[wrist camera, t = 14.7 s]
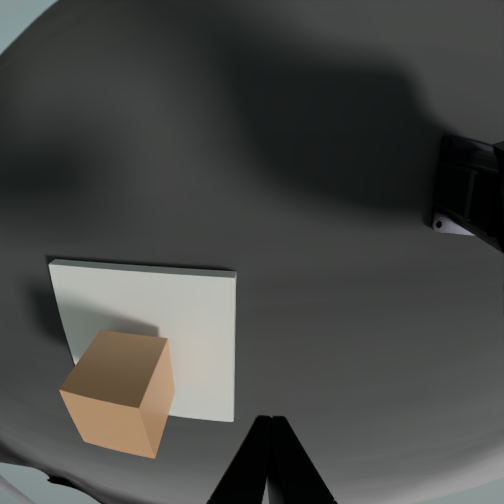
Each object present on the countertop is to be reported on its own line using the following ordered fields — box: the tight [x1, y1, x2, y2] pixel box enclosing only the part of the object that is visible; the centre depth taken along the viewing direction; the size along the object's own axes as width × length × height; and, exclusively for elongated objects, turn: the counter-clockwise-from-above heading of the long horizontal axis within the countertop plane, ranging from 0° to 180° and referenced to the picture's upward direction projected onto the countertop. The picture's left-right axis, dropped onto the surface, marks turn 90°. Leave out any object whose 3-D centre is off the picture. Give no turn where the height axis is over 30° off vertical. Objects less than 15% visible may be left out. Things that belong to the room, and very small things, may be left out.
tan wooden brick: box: [59, 330, 175, 459], centre depth 19 cm, size 5×5×7 cm
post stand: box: [49, 259, 236, 422], centre depth 20 cm, size 14×14×8 cm
